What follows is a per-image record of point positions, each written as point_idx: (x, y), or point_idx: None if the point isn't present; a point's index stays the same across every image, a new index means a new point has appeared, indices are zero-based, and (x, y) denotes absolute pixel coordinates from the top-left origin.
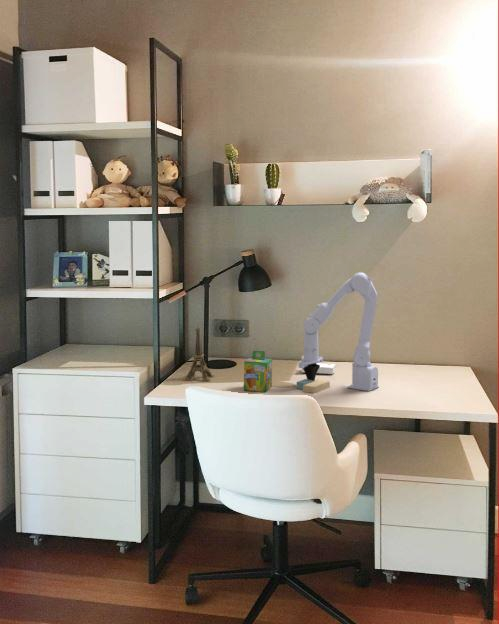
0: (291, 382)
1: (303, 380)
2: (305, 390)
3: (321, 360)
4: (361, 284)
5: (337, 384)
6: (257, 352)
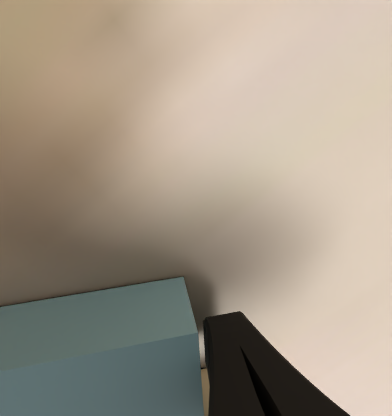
0: (196, 25)
1: (107, 373)
2: None
3: None
4: None
5: (366, 403)
6: None
